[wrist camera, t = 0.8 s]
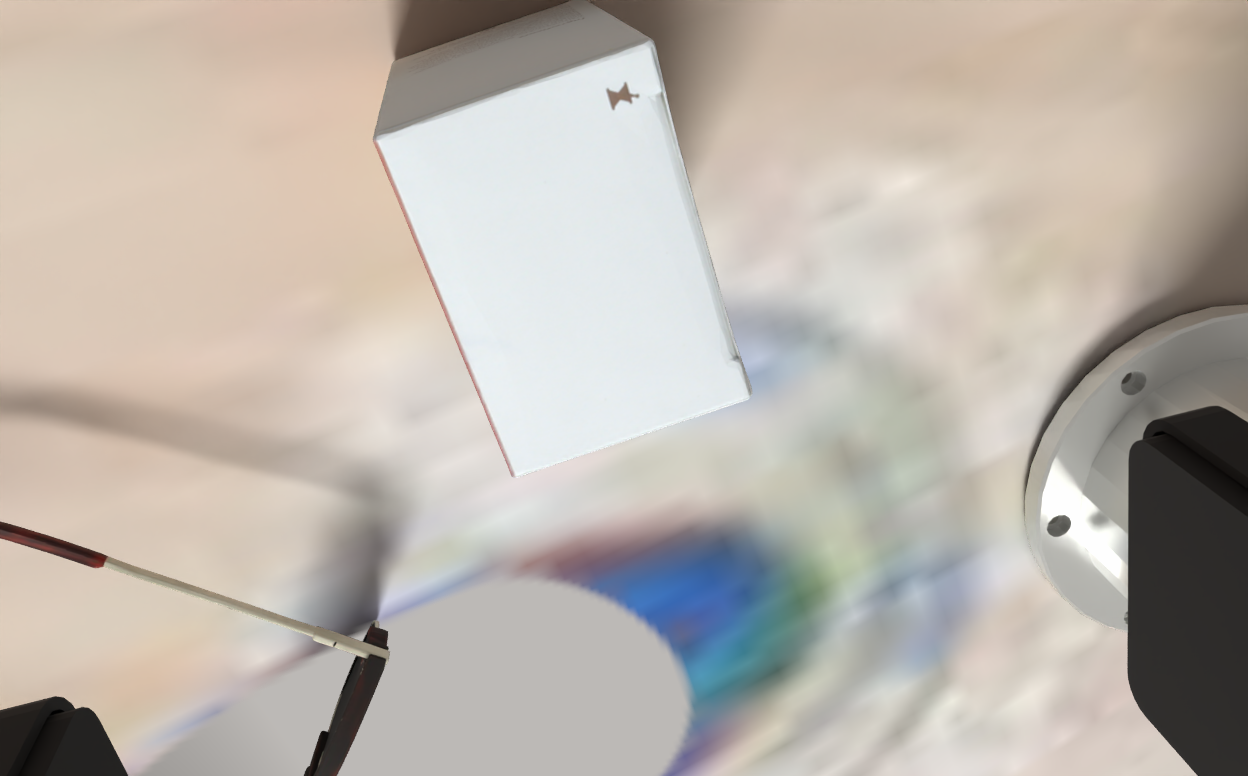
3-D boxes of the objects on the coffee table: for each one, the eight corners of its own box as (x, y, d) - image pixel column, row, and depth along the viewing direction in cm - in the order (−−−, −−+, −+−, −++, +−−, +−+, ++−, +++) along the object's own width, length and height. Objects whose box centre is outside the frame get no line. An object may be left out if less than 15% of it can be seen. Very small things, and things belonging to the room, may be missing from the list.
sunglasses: (271, 875, 40) (239, 995, 35) (-198, 753, 36) (-302, 870, 32) (404, 576, 36) (388, 668, 31) (-109, 404, 32) (-214, 479, 27)
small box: (389, 58, 29) (361, 125, 19) (585, -8, 29) (654, 26, 20) (490, 322, 32) (509, 489, 23) (666, 261, 32) (758, 403, 23)
